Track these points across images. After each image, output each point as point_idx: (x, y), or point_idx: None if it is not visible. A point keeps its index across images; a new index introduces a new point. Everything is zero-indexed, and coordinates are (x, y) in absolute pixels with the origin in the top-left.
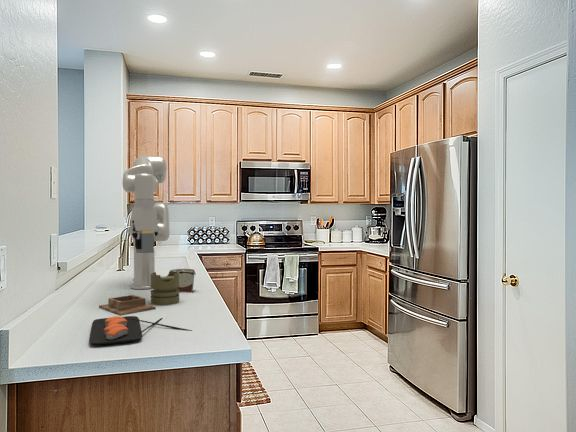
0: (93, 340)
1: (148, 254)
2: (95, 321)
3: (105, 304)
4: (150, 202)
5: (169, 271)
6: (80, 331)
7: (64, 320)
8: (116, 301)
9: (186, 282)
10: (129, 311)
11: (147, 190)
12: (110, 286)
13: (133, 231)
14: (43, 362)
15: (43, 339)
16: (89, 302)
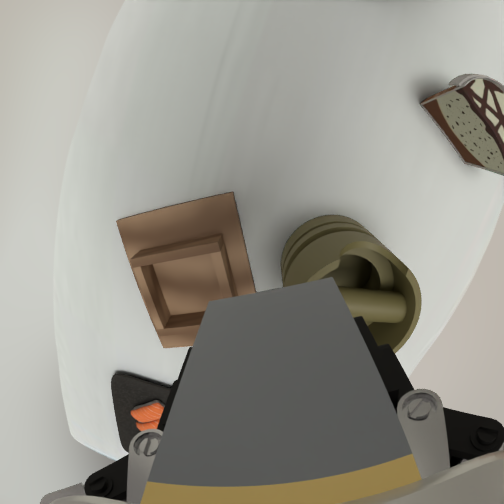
0: (126, 444)
1: None
2: (115, 382)
3: (135, 215)
4: None
5: (405, 274)
6: (100, 392)
7: (60, 309)
8: (150, 313)
9: (475, 148)
10: (186, 345)
11: None
12: None
13: (96, 500)
14: (91, 445)
15: (64, 391)
16: (106, 118)
